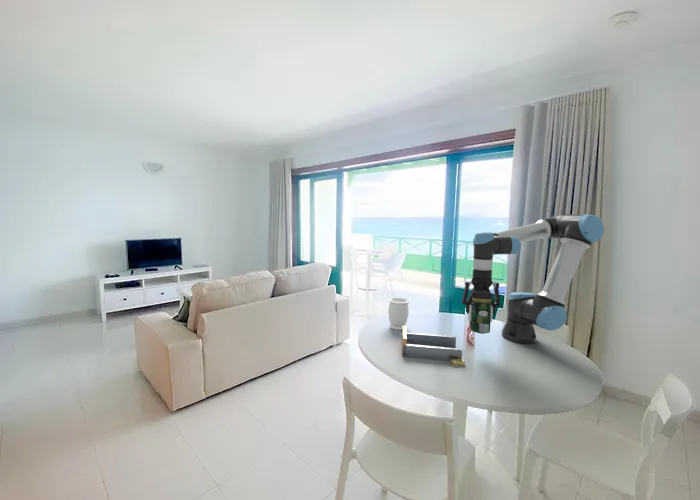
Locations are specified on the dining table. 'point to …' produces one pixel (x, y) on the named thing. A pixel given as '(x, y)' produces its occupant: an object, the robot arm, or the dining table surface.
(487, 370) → the dining table surface
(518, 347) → the dining table surface
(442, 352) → the channel
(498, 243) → the robot arm
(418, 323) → the dining table surface
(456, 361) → the brass key block
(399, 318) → the jar
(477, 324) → the coffee jar
